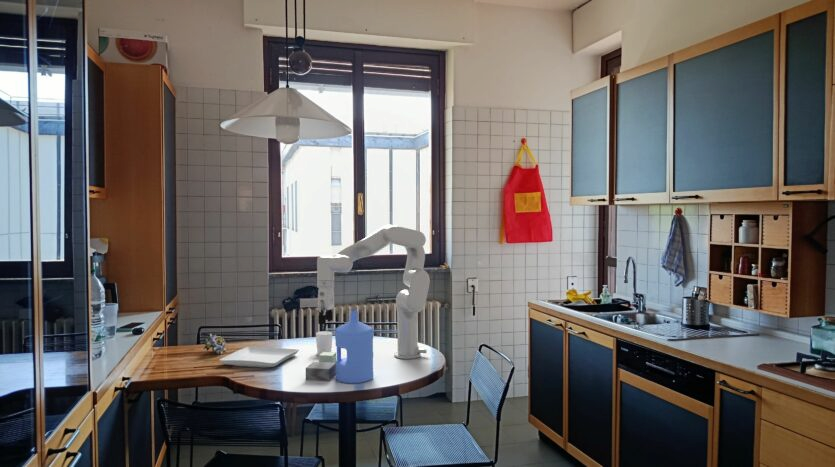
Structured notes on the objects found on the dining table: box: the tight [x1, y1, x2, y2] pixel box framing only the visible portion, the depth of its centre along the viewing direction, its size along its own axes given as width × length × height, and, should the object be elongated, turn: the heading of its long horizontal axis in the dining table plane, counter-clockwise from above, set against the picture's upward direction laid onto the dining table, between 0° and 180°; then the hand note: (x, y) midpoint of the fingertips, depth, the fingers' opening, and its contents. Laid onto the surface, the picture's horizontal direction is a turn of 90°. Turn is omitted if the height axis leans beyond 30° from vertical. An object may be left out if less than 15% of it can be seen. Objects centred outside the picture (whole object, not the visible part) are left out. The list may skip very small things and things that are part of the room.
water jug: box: [334, 310, 374, 384], centre depth 243 cm, size 16×16×28 cm
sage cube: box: [318, 351, 337, 363], centre depth 261 cm, size 6×6×6 cm
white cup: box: [315, 330, 333, 355], centre depth 286 cm, size 8×8×10 cm
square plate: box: [219, 346, 300, 369], centre depth 272 cm, size 27×27×4 cm
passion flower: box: [202, 333, 227, 355], centre depth 286 cm, size 11×11×12 cm
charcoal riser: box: [305, 361, 336, 382], centre depth 245 cm, size 10×10×5 cm
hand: (325, 321), depth 263 cm, fingers open, 9 cm apart
